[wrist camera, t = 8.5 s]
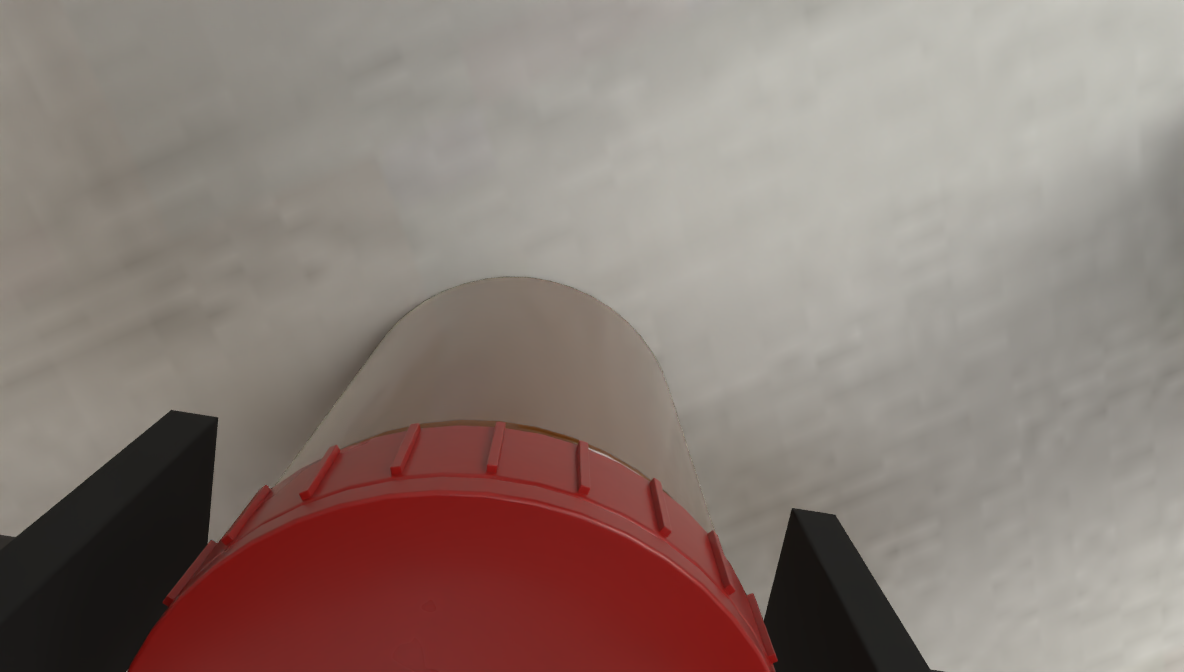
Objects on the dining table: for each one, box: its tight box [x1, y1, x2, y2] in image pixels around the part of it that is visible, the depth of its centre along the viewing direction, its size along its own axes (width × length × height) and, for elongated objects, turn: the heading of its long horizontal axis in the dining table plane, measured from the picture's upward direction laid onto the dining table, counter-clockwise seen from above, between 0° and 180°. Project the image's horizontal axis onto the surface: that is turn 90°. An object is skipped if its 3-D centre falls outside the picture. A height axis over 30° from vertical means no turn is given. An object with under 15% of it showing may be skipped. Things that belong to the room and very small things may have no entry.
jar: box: [275, 277, 715, 533], centre depth 16 cm, size 7×7×11 cm
